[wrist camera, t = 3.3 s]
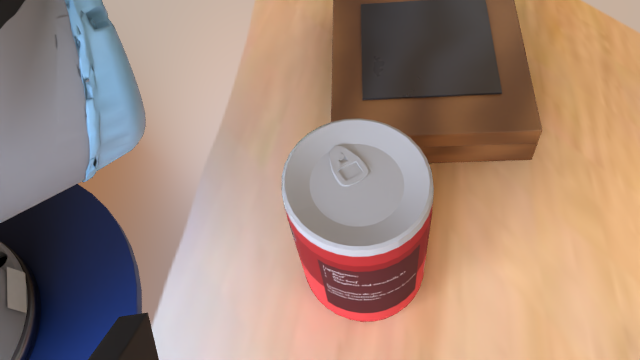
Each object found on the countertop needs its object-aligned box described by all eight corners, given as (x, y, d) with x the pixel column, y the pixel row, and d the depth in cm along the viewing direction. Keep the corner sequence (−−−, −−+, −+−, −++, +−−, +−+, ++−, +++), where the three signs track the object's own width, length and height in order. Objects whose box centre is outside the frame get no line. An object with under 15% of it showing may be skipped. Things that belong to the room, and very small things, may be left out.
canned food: (360, 194, 42) (352, 93, 33) (449, 267, 38) (469, 177, 29) (280, 267, 40) (247, 180, 30) (367, 351, 36) (359, 283, 27)
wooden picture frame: (334, 166, 43) (330, 136, 40) (336, 12, 52) (333, -22, 49) (531, 159, 42) (543, 128, 39) (500, 3, 50) (508, -33, 47)
